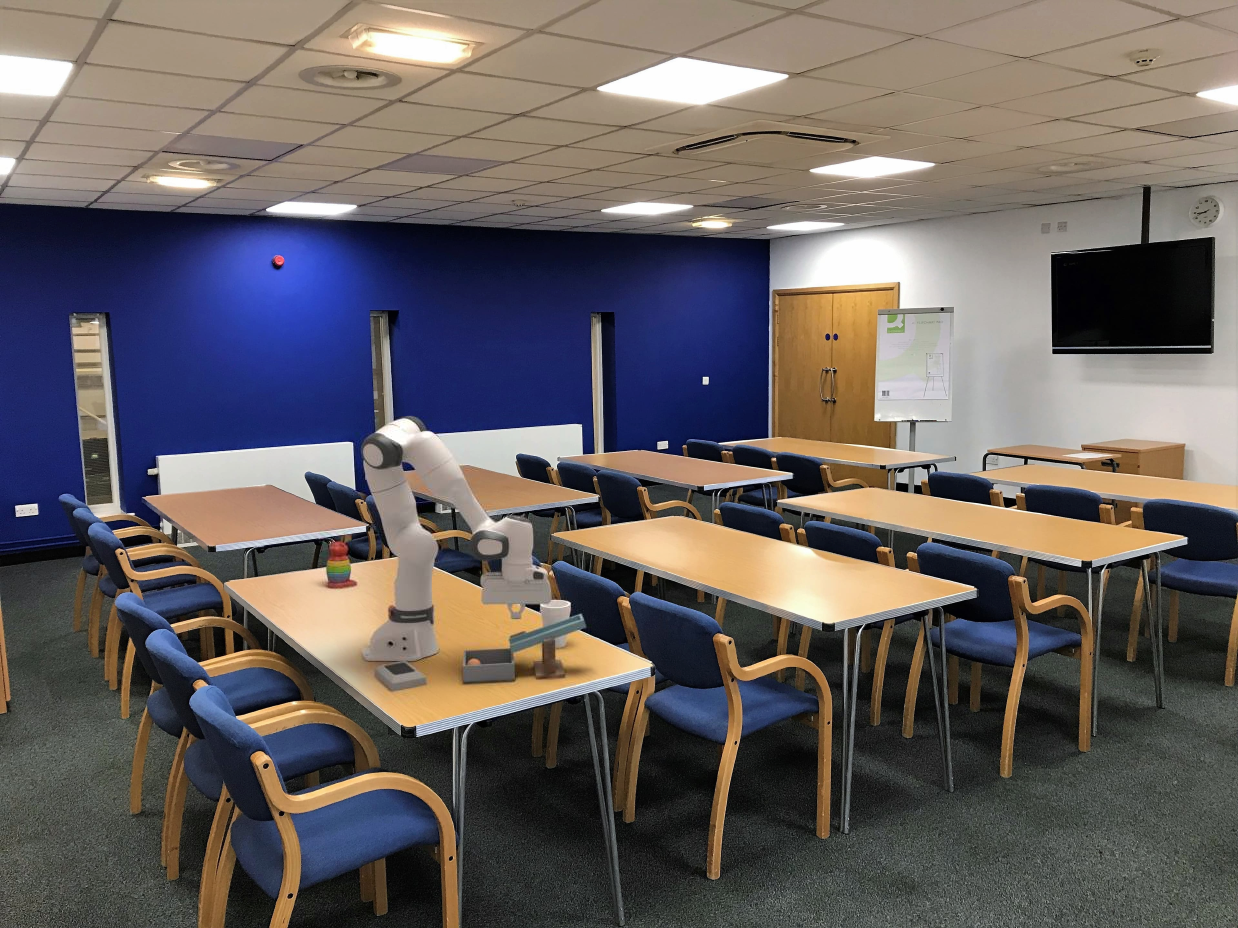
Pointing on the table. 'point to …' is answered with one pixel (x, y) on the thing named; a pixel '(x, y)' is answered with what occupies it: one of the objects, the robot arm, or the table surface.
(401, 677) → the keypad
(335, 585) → the stacking bear
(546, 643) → the pivot stand
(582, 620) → the chute lever
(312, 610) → the table surface
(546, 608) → the foam cup
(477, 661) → the ball
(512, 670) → the tray
